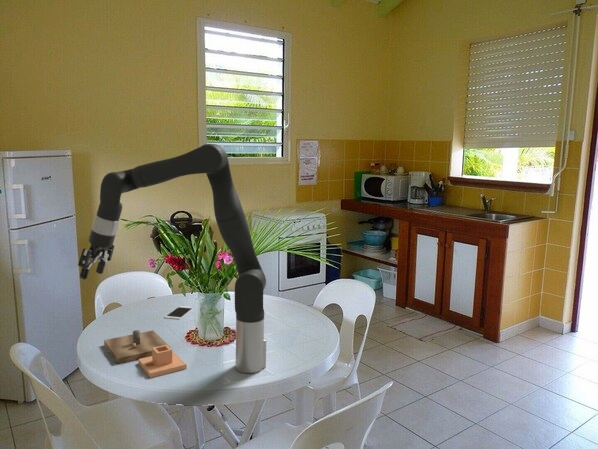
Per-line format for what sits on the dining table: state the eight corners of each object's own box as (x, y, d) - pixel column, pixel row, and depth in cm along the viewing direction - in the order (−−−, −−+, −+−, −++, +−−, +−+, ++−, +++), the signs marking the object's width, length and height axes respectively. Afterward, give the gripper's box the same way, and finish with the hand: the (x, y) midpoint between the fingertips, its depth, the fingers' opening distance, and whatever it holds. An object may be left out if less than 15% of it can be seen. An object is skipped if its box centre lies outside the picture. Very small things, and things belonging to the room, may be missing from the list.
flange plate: (173, 355, 165) (173, 339, 164) (186, 368, 156) (186, 351, 155) (138, 363, 158) (138, 346, 157) (150, 377, 149) (149, 359, 148)
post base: (153, 335, 182) (153, 319, 181) (170, 352, 168) (170, 334, 167) (104, 345, 172) (103, 328, 171) (117, 364, 157) (117, 345, 156)
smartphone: (194, 308, 215) (194, 306, 215) (179, 320, 200) (179, 318, 199) (179, 307, 216) (179, 305, 216) (164, 319, 201) (164, 316, 201)
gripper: (100, 237, 147) (87, 284, 149) (126, 231, 160) (113, 275, 163) (80, 228, 148) (67, 276, 150) (107, 224, 162) (94, 267, 164)
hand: (91, 275), depth 157 cm, fingers open, 8 cm apart
